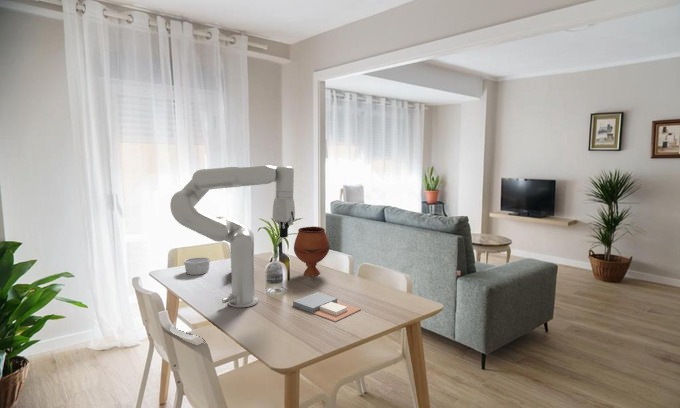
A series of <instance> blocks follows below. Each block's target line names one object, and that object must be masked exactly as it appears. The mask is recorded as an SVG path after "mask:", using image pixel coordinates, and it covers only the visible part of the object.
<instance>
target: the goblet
mask: <svg viewBox="0 0 680 408" xmlns="http://www.w3.org/2000/svg"><path fill="white" fill-rule="evenodd" d="M294 240H295V241H294V244H293V251H294V254H295V256H296V257H297V259H299V261H301V262H303V263H304V264H305V266H306V267H307V268H306V269H305V270H304V271H303V275H305V276H306V277H307V276H308V277H315V276H318V275H320V274H321V272H320V270H319V269H318V268H317V264H318V263H319V262H321V261H322V260H324V259H325V258H326V256H327V255H328V253H329V251H330V242H329V239H328V236H327V233H326V229H325V228H324V227H320V226H305V227H304V226H303V227H300V228H298V231H297V234H296V237H295V239H294Z"/></svg>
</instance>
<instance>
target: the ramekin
mask: <svg viewBox="0 0 680 408" xmlns="http://www.w3.org/2000/svg"><path fill="white" fill-rule="evenodd" d="M210 263H211V259H210V258H208V257H203V256H199V257H197V256H196V257H191V258H187V259H184V261H183V264H184V269H185V272H186V274H187V275H189V274H190V276H199V275H200V274H201V275H203V274H204V273H205V274H207V273H208V272H209V270H210Z"/></svg>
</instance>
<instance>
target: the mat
mask: <svg viewBox="0 0 680 408" xmlns="http://www.w3.org/2000/svg"><path fill="white" fill-rule="evenodd" d="M337 304H340V305H343V306H346V307H348V308H347V311H345V312H343V313H341V314H339V315H337V316H336V315H333V314H330V313H327V312H324V311H322V310H319V311H316V312H314V313H312V314H313V315H315V316H319V317H320V318H324V319H327V320H329V321H331V322H335V323H336V322H339V321H340V320H344V319H345V318H347V317H349V316H352V315H353V314H355V313H357V312H360V311H361V310H362V309H361V308H359V307H356V306H352V305H349V304H346V303H343V302H341V301H337Z"/></svg>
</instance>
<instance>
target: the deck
mask: <svg viewBox="0 0 680 408" xmlns="http://www.w3.org/2000/svg"><path fill="white" fill-rule="evenodd" d="M329 302H334V303H338V298H337V297H335V296H331V295H328V294H325V293H322V292H319V291H316V292H314V293H312V294H308V295H306V296H302V297H300V298H297V299H295V300H293V301H292V306H293V307H296V308H298V309H302V310H304V311H307V312H309V313H312V314H313V313H314V312H316V311H319V310H320V306H322V305H324V304H327V303H329Z"/></svg>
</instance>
